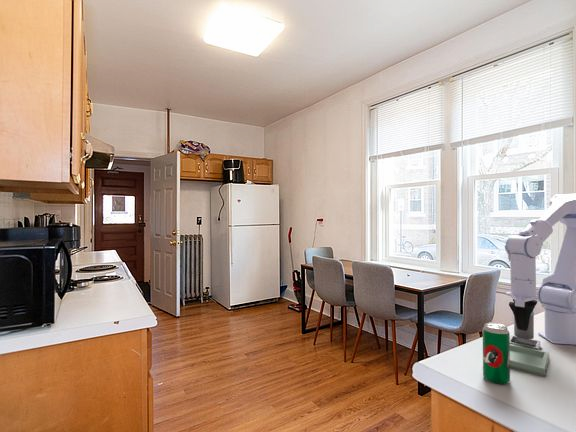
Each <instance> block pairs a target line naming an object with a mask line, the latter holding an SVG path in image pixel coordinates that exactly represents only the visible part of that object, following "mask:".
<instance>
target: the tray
mask: <svg viewBox="0 0 576 432" xmlns="http://www.w3.org/2000/svg"><path fill="white" fill-rule="evenodd" d="M549 361H550V353H549V351H543V350H540V349H539V350H535V349H531V348H526V347H522V346H517V345H512V344H510V369H514V370H517V371H521V372H525V373H529V374H533V375H537V376H541V377H543V378H544V377H545V376H546V372H547V370H548V369H547V368H548V365H549Z"/></svg>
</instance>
